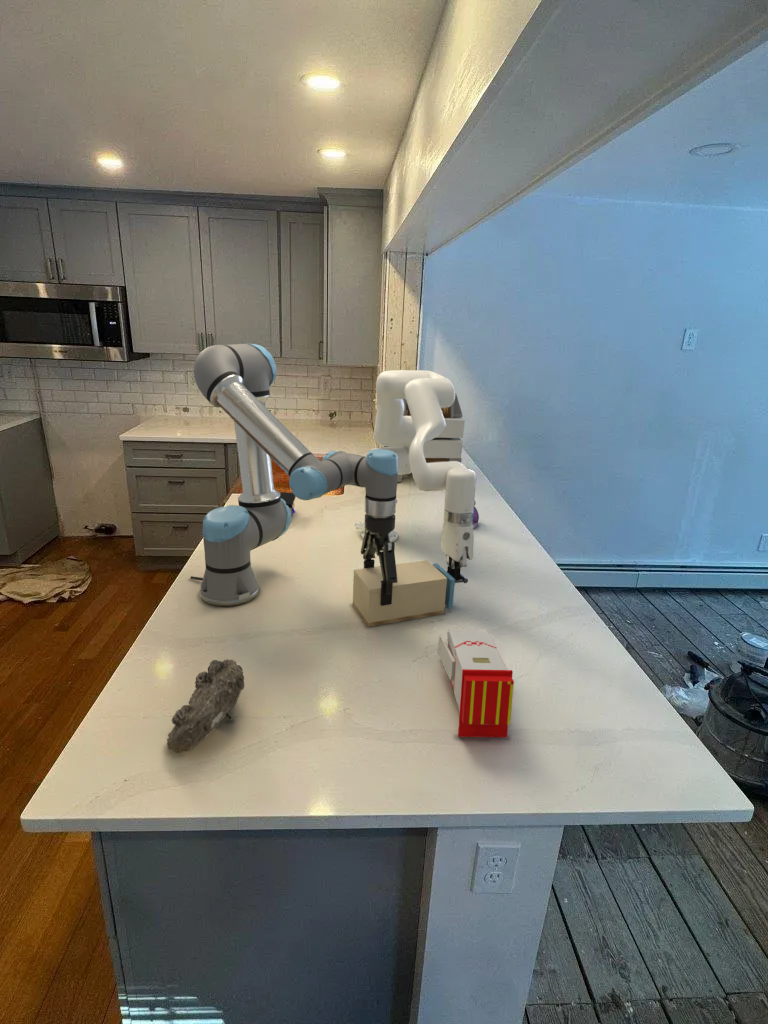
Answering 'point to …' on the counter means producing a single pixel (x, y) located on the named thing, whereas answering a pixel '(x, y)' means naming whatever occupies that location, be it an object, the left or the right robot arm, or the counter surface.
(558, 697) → the counter surface
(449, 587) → the drawer
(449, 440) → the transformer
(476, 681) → the toy
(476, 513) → the figurine
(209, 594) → the left robot arm
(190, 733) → the fossil
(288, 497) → the figurine character
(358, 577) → the tan storage bin
